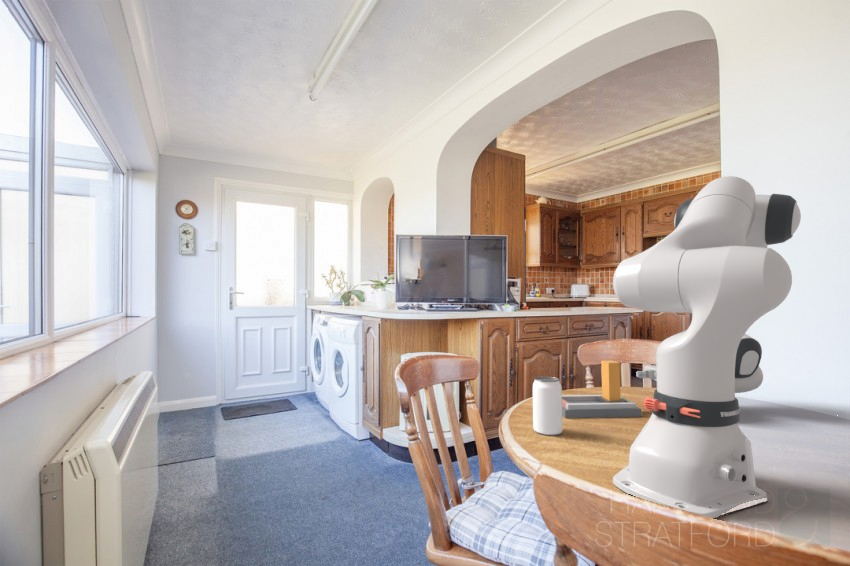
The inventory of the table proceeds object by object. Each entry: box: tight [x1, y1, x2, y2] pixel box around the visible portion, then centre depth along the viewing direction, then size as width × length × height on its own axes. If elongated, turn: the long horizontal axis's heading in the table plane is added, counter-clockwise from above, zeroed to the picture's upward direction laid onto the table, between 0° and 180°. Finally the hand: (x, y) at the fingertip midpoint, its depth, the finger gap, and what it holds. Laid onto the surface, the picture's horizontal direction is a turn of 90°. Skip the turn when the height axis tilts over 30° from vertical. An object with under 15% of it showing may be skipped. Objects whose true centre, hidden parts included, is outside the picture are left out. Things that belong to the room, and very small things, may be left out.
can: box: [532, 375, 563, 437], centre depth 91 cm, size 6×6×12 cm
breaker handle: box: [597, 359, 626, 403], centre depth 107 cm, size 5×6×11 cm
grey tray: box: [562, 394, 643, 419], centre depth 107 cm, size 20×11×3 cm, turn 92°
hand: (647, 378), depth 108 cm, fingers open, 8 cm apart
